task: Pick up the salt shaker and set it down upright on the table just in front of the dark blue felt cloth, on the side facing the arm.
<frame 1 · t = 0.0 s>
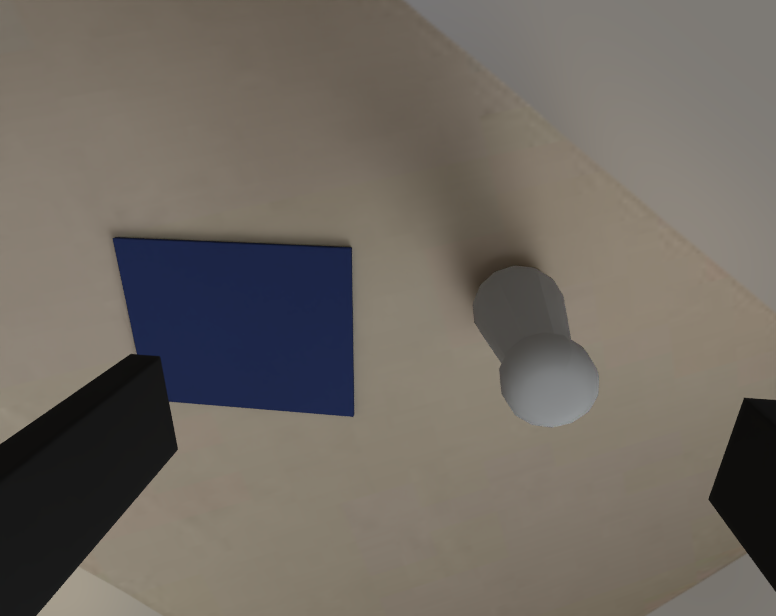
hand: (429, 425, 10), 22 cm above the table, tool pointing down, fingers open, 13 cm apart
cloth: (240, 329, 35), on the table
salt shaker: (511, 296, 32), on the table
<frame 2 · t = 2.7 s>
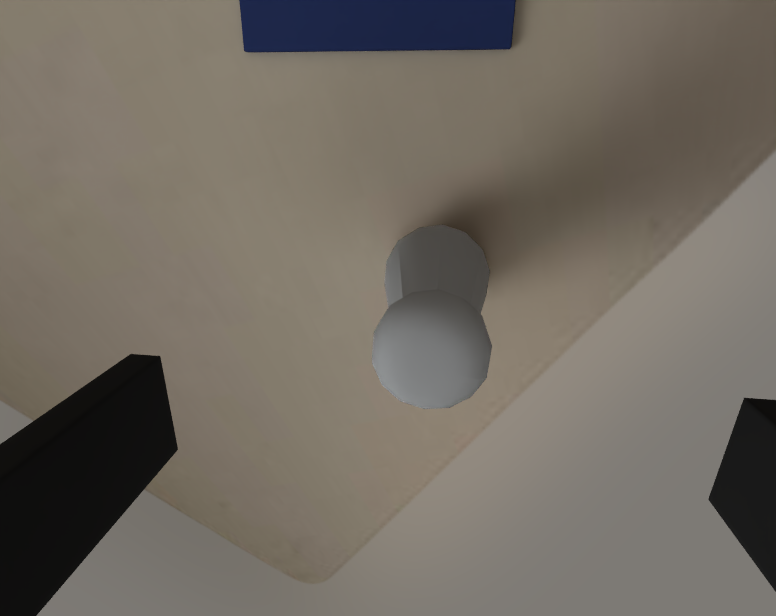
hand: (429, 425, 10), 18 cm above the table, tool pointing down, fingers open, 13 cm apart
salt shaker: (437, 264, 27), on the table
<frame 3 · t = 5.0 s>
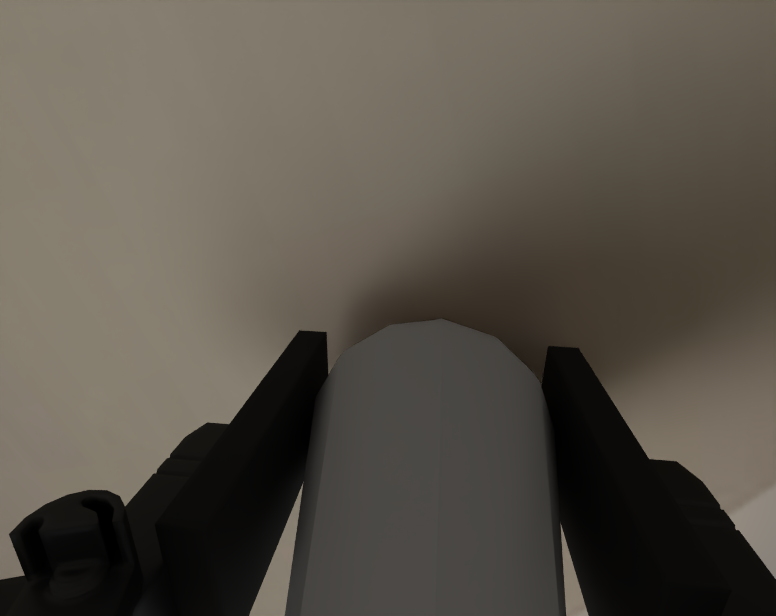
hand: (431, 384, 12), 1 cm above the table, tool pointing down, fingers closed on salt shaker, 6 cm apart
salt shaker: (432, 380, 13), on the table, touching gripper
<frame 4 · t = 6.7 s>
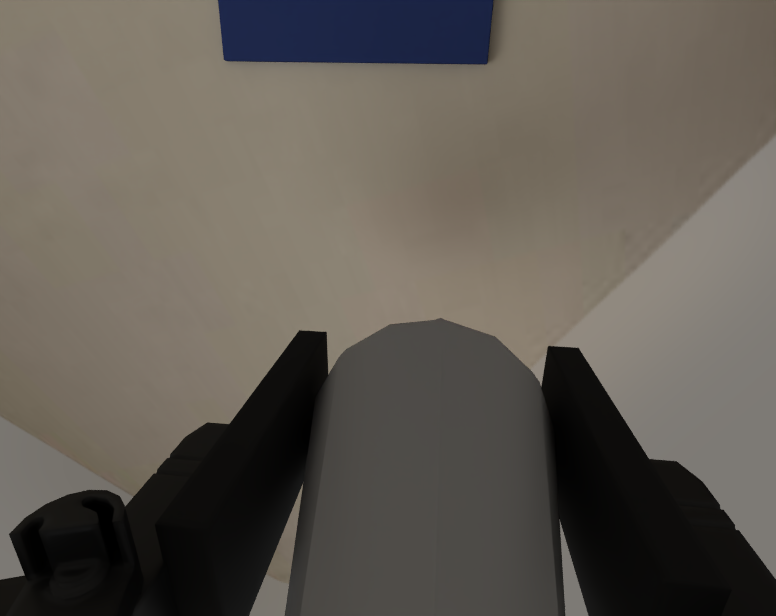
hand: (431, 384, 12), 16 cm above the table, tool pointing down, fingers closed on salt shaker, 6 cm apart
salt shaker: (432, 380, 13), point 15 cm above the table, touching gripper
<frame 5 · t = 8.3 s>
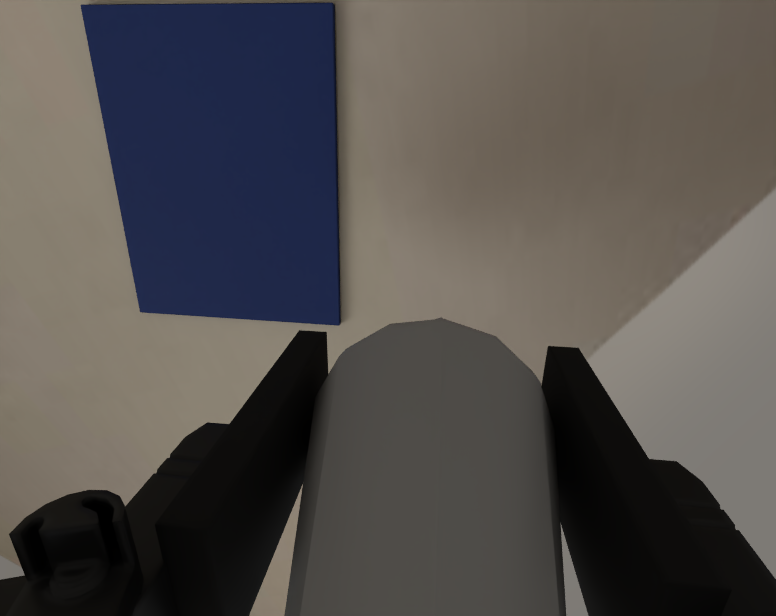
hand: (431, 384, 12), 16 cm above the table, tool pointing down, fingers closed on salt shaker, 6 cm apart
cloth: (225, 179, 27), on the table
salt shaker: (432, 379, 13), point 15 cm above the table, touching gripper
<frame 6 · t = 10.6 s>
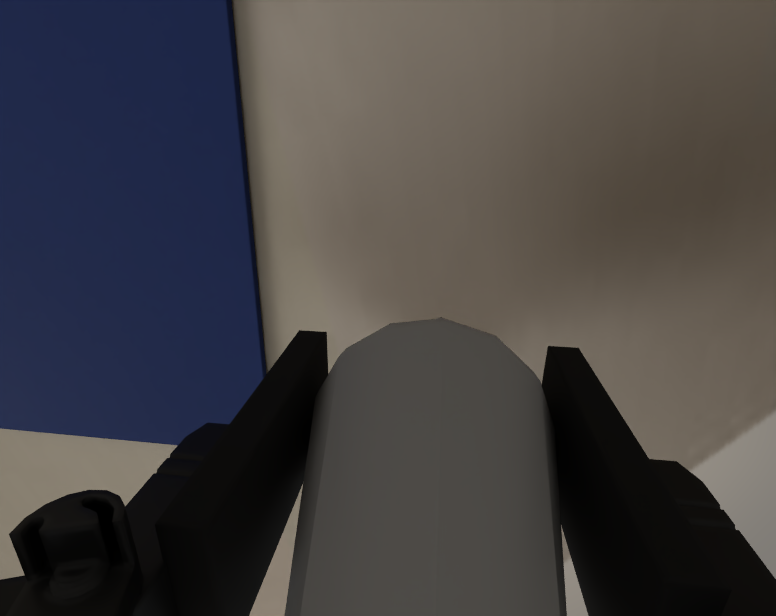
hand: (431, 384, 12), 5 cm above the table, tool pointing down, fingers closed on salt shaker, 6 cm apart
cloth: (87, 248, 18), on the table
salt shaker: (432, 379, 13), point 4 cm above the table, touching gripper
when the fingers open (1 cm above the table, at t = 12.0 s): salt shaker stays where it is, on the table.
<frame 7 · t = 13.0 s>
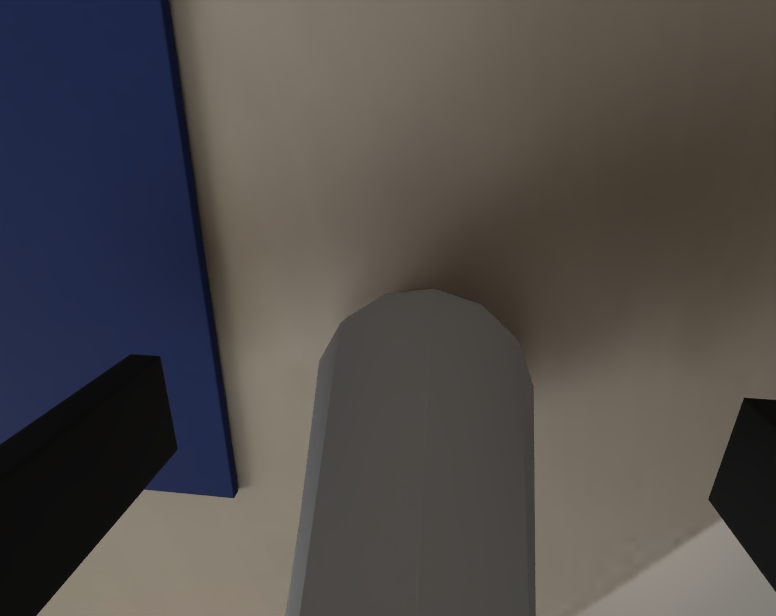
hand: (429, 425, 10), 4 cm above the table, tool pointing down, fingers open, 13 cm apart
cloth: (5, 260, 15), on the table
salt shaker: (425, 349, 15), on the table
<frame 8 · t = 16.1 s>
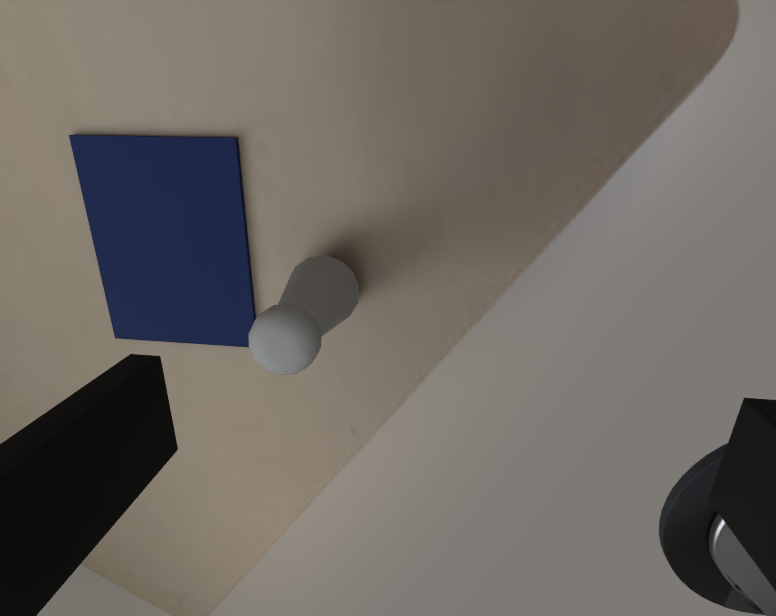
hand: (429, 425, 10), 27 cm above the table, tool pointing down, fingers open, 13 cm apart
cloth: (171, 247, 39), on the table
salt shaker: (330, 281, 38), on the table
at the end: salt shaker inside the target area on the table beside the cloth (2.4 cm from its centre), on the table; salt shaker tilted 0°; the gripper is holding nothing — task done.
